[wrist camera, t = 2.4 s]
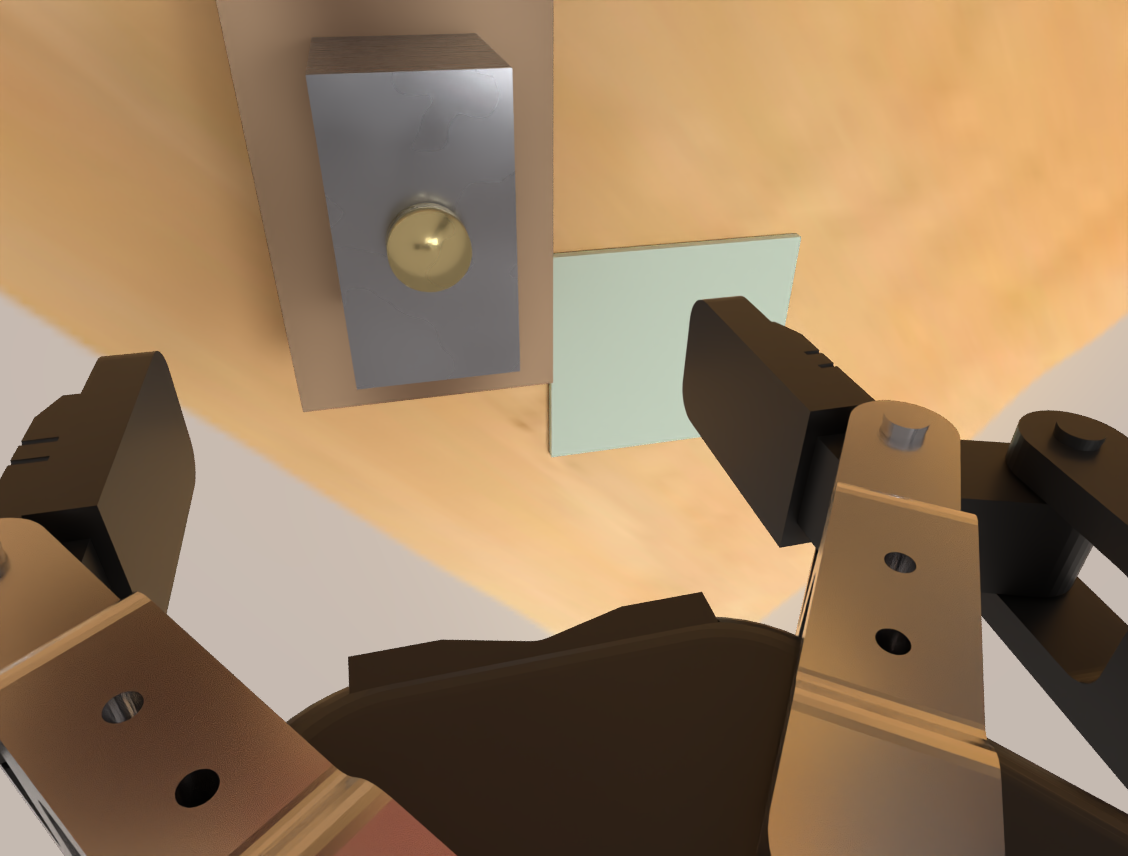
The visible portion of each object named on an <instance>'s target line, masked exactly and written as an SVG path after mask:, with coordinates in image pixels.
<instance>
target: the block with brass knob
mask: <svg viewBox="0 0 1128 856" xmlns="http://www.w3.org/2000/svg"><path fill="white" fill-rule="evenodd" d="M305 75H306V82H307V88H308V94H309V100H310V106H311V112H312V118H313V124H314V131H315V137H316V143H317V149H318V155H319V161H320V167H321V173H322V179H323V186H324V192H325V198H326V204H327V210H328V216H329V222H330V228H331V235H332V241H333V247H334V253H335V259H336V265H337V271H338V277H339V284H340V290H341V296H342V302H343V308H344V314H345V320H346V326H347V332H348V339H349V345H350V351H351V357H352V363H353V369H354V375H355V381H356V388H357V390H358V389H367V388H376V387H385V386H394V385H403V384H412V383H421V382H429V381H438V380H447V379H456V378H465V377H474V376H483V375H491V374H500V373H509V372H518V371H520V341H519V303H518V265H517V227H516V189H515V151H514V113H513V75H512V67H511V66H510V65H509V64H508V63H507V62H506V61H505V60H503V59H502V58H501V57H500V56H499V55H498V54H497V53H496V52H495V51H494V50H493V49H492V48H491V47H490V46H489V45H488V44H487V43H486V42H485V41H484V40H482V39H481V38H480V37H479V36H478V35H477V34H476V33H470V34H429V35H388V36H346V37H312V38H311V44H310V50H309V56H308V62H307V68H306V74H305Z"/></svg>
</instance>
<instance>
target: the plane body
mask: <svg viewBox="0 0 1128 856" xmlns="http://www.w3.org/2000/svg"><path fill="white" fill-rule="evenodd" d="M216 4H217V9H218V13H219V18H220V23H221V28H222V32H223V37H224V42H225V46H226V51H227V56H228V60H229V65H230V70H231V75H232V79H233V84H234V89H235V93H236V98H237V103H238V108H239V112H240V117H241V122H242V126H243V131H244V136H245V141H246V145H247V150H248V155H249V159H250V164H251V169H252V174H253V178H254V183H255V188H256V192H257V197H258V202H259V207H260V211H261V216H262V221H263V225H264V230H265V235H266V239H267V244H268V249H269V254H270V258H271V263H272V268H273V272H274V277H275V282H276V287H277V291H278V296H279V301H280V305H281V310H282V315H283V320H284V324H285V329H286V334H287V338H288V343H289V348H290V353H291V357H292V362H293V367H294V371H295V376H296V381H297V386H298V390H299V395H300V400H301V404H302V409H303V412H309V411H317V410H326V409H334V408H343V407H351V406H360V405H369V404H377V403H386V402H394V401H403V400H411V399H420V398H428V397H437V396H446V395H454V394H463V393H471V392H480V391H488V390H497V389H505V388H514V387H523V386H531V385H540V384H548V383H553V0H216ZM470 33H476V34H477V35H478V36H479V37H480V38H481V39H482V40H484V41H485V42H486V43H487V44H488V45H489V46H490V47H491V48H492V49H493V50H494V51H495V52H496V53H497V54H498V55H499V56H500V57H501V58H502V59H503V60H505V61H506V62H507V63H508V64H509V65H510V66H511V67H512V75H513V113H514V151H515V189H516V227H517V265H518V303H519V341H520V371H518V372H509V373H500V374H491V375H483V376H474V377H465V378H456V379H447V380H438V381H429V382H421V383H412V384H403V385H394V386H385V387H376V388H367V389H358V390H357V388H356V381H355V375H354V369H353V363H352V357H351V351H350V345H349V339H348V332H347V326H346V320H345V314H344V308H343V302H342V296H341V290H340V284H339V277H338V271H337V265H336V259H335V253H334V247H333V241H332V235H331V228H330V222H329V216H328V210H327V204H326V198H325V192H324V186H323V179H322V173H321V167H320V161H319V155H318V149H317V143H316V137H315V131H314V124H313V118H312V112H311V106H310V100H309V94H308V88H307V82H306V75H305V74H306V68H307V62H308V56H309V50H310V44H311V38H312V37H346V36H388V35H429V34H470Z"/></svg>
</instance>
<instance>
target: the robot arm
mask: <svg viewBox="0 0 1128 856" xmlns="http://www.w3.org/2000/svg"><path fill="white" fill-rule="evenodd" d="M682 395H683V403H684V407H685V411H686V414H687V416H688V419H689V420H690V422H691V423H692V425H693V426H694V428H695V429H696V430H697V432H698V433H699V435H700V436H701V437H702V439H703V440H704V442H705V443H706V445H707V446H708V447H709V449H710V450H711V452H712V453H713V454H714V456H715V457H716V459H717V460H718V461H719V463H720V464H721V466H722V467H723V468H724V470H725V471H726V473H727V474H728V475H729V477H730V478H731V480H732V481H733V483H734V484H735V485H736V487H737V488H738V490H739V491H740V492H741V494H742V495H743V497H744V498H745V499H746V501H747V502H748V504H749V505H750V506H751V508H752V509H753V511H754V512H755V514H756V515H757V516H758V518H759V519H760V521H761V522H762V523H763V525H764V526H765V528H766V529H767V530H768V532H769V533H770V535H771V536H772V537H773V539H774V540H775V542H776V543H777V545H778V546H779V547H780V548H781V547H786V546H792V545H798V544H804V543H809V542H812V543H813V545H814V546H815V547H816V548H815V552H814V556H813V560H812V563H811V567H810V572H809V576H808V581H807V585H806V590H805V594H804V599H803V603H802V607H801V612H800V617H799V621H798V625H797V630H796V634H795V635H794V634H792V633H789V632H787V631H784V630H781V629H778V628H775V627H772V626H768V625H765V624H761V623H757V622H752V621H748V620H742V619H734V618H726V617H715V615H714V613H713V611H712V609H711V608H710V606H709V604H708V602H707V600H706V598H705V597H704V595H703V593H702V592H699V593H693V594H688V595H682V596H677V597H671V598H666V599H661V600H655V601H650V602H644V603H639V604H633V605H628V606H622V607H620V608H617V609H615V610H612V611H610V612H608V613H605V614H603V615H601V616H598V617H596V618H594V619H591V620H589V621H586V622H584V623H582V624H579V625H577V626H575V627H572V628H570V629H568V630H565V631H563V632H561V633H558V634H556V635H553V636H551V637H549V638H546V639H543V640H539V641H484V640H482V641H481V640H438V641H432V642H427V643H421V644H416V645H410V646H405V647H399V648H394V649H389V650H383V651H378V652H372V653H367V654H361V655H356V656H351V657H348V665H349V687H346V688H344V689H342V690H340V691H337V692H335V693H333V694H331V695H329V696H327V697H325V698H323V699H321V700H320V701H318V702H316V703H314V704H312V705H310V706H309V707H307V708H306V709H304V710H303V711H301V712H300V713H298V714H297V715H295V716H294V717H292V718H291V719H290V720H289V721H287V722H285V721H284V720H283V719H282V718H281V717H279V716H278V715H277V714H276V713H275V712H274V711H273V710H272V709H270V708H269V707H268V706H267V705H266V704H265V703H264V702H263V701H262V700H261V699H259V698H258V697H257V696H256V695H255V694H254V693H253V692H252V691H250V689H248V688H247V687H246V686H245V685H244V684H243V683H242V682H241V681H240V680H239V679H237V678H236V677H235V676H234V675H233V674H232V673H231V672H230V671H229V670H228V669H226V668H225V667H224V666H223V665H222V664H221V663H220V662H219V661H218V660H216V659H215V658H214V657H213V656H212V655H211V654H210V653H209V652H208V651H207V650H205V649H204V648H203V647H202V646H201V645H200V644H199V643H198V642H197V641H196V640H194V639H193V638H192V637H191V636H190V635H189V634H188V633H187V632H186V631H185V630H183V629H182V628H181V627H180V626H179V625H178V624H177V623H176V622H175V621H173V620H172V619H171V618H170V617H169V616H168V615H167V609H168V605H169V600H170V595H171V591H172V587H173V582H174V577H175V573H176V568H177V564H178V559H179V555H180V550H181V546H182V541H183V536H184V532H185V527H186V523H187V518H188V514H189V509H190V505H191V500H192V495H193V490H194V486H195V460H194V453H193V448H192V444H191V440H190V437H189V434H188V430H187V427H186V424H185V421H184V417H183V414H182V411H181V407H180V404H179V401H178V397H177V394H176V391H175V388H174V384H173V381H172V378H171V374H170V371H169V368H168V365H167V363H166V360H165V358H164V357H163V355H162V354H161V353H160V352H159V351H155V352H144V353H134V354H124V355H113V356H103V357H100V358H98V360H97V362H96V364H95V366H94V368H93V370H92V372H91V374H90V376H89V378H88V380H87V382H86V384H85V386H84V388H83V390H82V392H81V394H74V395H73V394H72V395H63V396H62V397H60V398H59V399H58V400H56V401H55V402H54V403H53V404H51V405H50V406H49V407H47V408H46V409H45V410H44V411H42V412H41V413H40V414H39V415H37V416H36V417H35V418H34V419H33V421H32V423H31V425H30V427H29V429H28V430H27V432H26V434H25V435H24V438H23V439H22V446H18V448H17V450H16V452H15V453H14V455H13V457H12V459H11V465H9V466H7V468H6V469H5V471H4V473H3V475H2V477H1V479H0V767H1V769H2V770H3V771H4V773H5V774H6V775H7V777H8V778H9V780H10V781H11V783H12V784H13V785H14V787H15V788H16V789H17V791H18V792H19V794H20V795H21V796H22V798H23V799H24V801H25V802H26V803H27V805H28V806H29V807H30V809H31V810H32V811H33V813H34V814H35V816H36V817H37V818H38V820H39V821H40V823H41V824H42V825H43V827H44V828H45V830H46V831H47V832H48V834H49V835H50V836H51V838H52V839H53V841H54V842H55V843H56V845H57V846H58V848H59V849H60V850H61V852H62V853H63V854H64V856H1128V814H1126V813H1125V812H1123V811H1121V810H1119V809H1117V808H1116V807H1114V806H1112V805H1110V804H1108V803H1106V802H1104V801H1103V800H1101V799H1099V798H1097V797H1095V796H1093V795H1091V794H1090V793H1088V792H1086V791H1084V790H1082V789H1080V788H1079V787H1077V786H1075V785H1073V784H1071V783H1069V782H1067V781H1066V780H1064V779H1062V778H1060V777H1058V776H1056V775H1055V774H1053V773H1051V772H1049V771H1047V770H1045V769H1043V768H1042V767H1040V766H1038V765H1036V764H1034V763H1033V762H1031V761H1029V760H1027V759H1025V758H1023V757H1021V756H1020V755H1018V754H1016V753H1014V752H1012V751H1010V750H1008V749H1007V748H1005V747H1003V746H1001V745H999V744H997V743H996V742H994V741H992V740H990V739H988V738H987V737H986V732H985V713H984V686H983V685H984V683H983V654H982V627H981V625H982V624H981V616H982V617H983V618H984V619H985V621H987V623H988V624H989V625H990V626H991V628H992V629H993V630H994V631H995V632H996V634H997V635H998V636H999V637H1000V638H1001V640H1002V641H1003V642H1004V643H1005V644H1006V645H1007V647H1008V648H1009V649H1010V650H1011V651H1012V653H1013V654H1014V655H1015V656H1016V657H1017V659H1018V660H1019V661H1020V662H1021V663H1022V664H1023V666H1024V667H1025V668H1026V669H1027V670H1028V671H1029V673H1030V674H1031V675H1032V676H1033V677H1034V679H1035V680H1036V681H1037V682H1038V683H1039V684H1040V686H1041V687H1042V688H1043V689H1044V691H1045V692H1046V693H1047V694H1048V695H1049V697H1050V698H1051V699H1052V700H1053V701H1054V702H1055V704H1056V705H1057V706H1058V707H1059V708H1060V710H1061V711H1062V712H1063V713H1064V714H1065V716H1066V717H1067V718H1068V719H1069V720H1070V721H1071V723H1072V724H1073V725H1074V726H1075V727H1076V729H1077V730H1078V731H1079V732H1080V733H1081V735H1082V736H1083V737H1084V738H1085V739H1086V741H1087V742H1088V743H1089V744H1090V745H1091V746H1092V748H1093V749H1094V750H1095V751H1096V752H1097V754H1098V755H1099V756H1100V757H1101V758H1102V759H1103V761H1104V762H1105V763H1106V764H1107V765H1108V767H1109V768H1110V769H1111V770H1112V771H1113V773H1114V774H1115V775H1116V776H1117V777H1118V779H1119V780H1120V781H1121V782H1122V783H1123V784H1124V786H1125V787H1126V788H1127V789H1128V625H1127V624H1126V623H1124V621H1123V620H1122V619H1121V618H1119V616H1118V615H1116V613H1114V612H1113V611H1112V610H1111V609H1110V608H1109V607H1108V606H1107V605H1106V604H1105V603H1104V602H1103V601H1102V600H1101V599H1100V598H1099V597H1098V596H1097V595H1096V594H1095V593H1094V592H1093V591H1092V590H1091V589H1090V588H1089V587H1088V586H1086V585H1085V583H1083V582H1082V581H1081V580H1080V579H1079V578H1078V577H1077V575H1078V574H1079V572H1080V570H1081V568H1082V566H1083V564H1084V562H1085V560H1086V558H1087V556H1088V554H1089V553H1090V551H1091V549H1092V547H1093V546H1095V547H1096V548H1097V549H1098V550H1099V551H1100V552H1101V553H1102V554H1103V555H1105V556H1106V557H1107V558H1108V559H1109V560H1110V561H1111V562H1112V563H1113V564H1115V565H1116V566H1117V567H1118V568H1119V569H1120V570H1121V571H1122V572H1123V573H1124V574H1125V575H1126V576H1127V577H1128V437H1126V436H1125V435H1124V434H1122V433H1120V432H1119V431H1117V430H1116V429H1114V428H1112V427H1110V426H1108V425H1107V424H1104V423H1102V422H1100V421H1097V420H1094V419H1092V418H1089V417H1086V416H1082V415H1078V414H1074V413H1069V412H1063V411H1049V410H1048V411H1036V412H1032V413H1029V414H1026V415H1025V416H1023V417H1022V418H1021V419H1020V420H1019V423H1018V425H1017V428H1016V431H1015V433H1014V435H1013V438H1012V440H1011V443H1001V442H986V441H972V440H960V435H959V433H958V431H957V429H956V428H955V427H954V426H953V424H951V423H950V422H949V421H948V420H947V419H945V418H944V417H942V416H941V415H939V414H937V413H935V412H933V411H931V410H929V409H926V408H924V407H921V406H918V405H915V404H910V403H906V402H900V401H891V400H879V401H875V400H874V399H873V398H872V397H871V396H870V395H868V394H867V393H866V392H865V391H864V390H863V389H862V388H861V387H860V386H858V385H857V384H856V383H855V382H854V381H853V380H852V379H851V378H850V377H848V376H847V375H846V374H845V373H844V372H843V371H842V370H841V369H840V368H838V367H837V366H835V367H834V366H833V362H832V361H831V360H830V359H828V358H827V357H826V356H825V355H824V354H823V353H819V350H818V349H817V348H816V347H815V346H814V345H813V344H812V343H811V342H810V341H808V340H807V339H806V338H805V337H804V336H803V335H802V334H800V333H798V332H796V331H794V330H792V329H789V328H787V327H785V326H783V325H781V324H779V323H777V322H775V321H774V322H771V321H770V320H769V319H768V318H767V317H766V316H765V315H764V314H763V313H762V312H760V311H759V310H758V309H757V308H756V307H755V306H754V305H753V304H752V303H751V302H750V301H749V300H748V299H746V298H745V297H744V296H732V297H722V298H712V299H702V300H697V301H696V302H695V303H694V305H693V307H692V310H691V315H690V322H689V331H688V340H687V348H686V357H685V366H684V374H683V384H682Z"/></svg>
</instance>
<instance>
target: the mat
mask: <svg viewBox="0 0 1128 856" xmlns="http://www.w3.org/2000/svg"><path fill="white" fill-rule="evenodd" d="M800 241H801V236H799V235H798V234H797V233H795V234H783V235H771V236H758V237H746V238H734V239H722V240H710V241H698V242H686V243H674V244H662V245H650V246H638V247H625V248H613V249H601V250H589V251H577V252H565V253H553V383H549V452H550V455H551V457H557V456H565V455H572V454H579V453H587V452H594V451H601V450H609V449H616V448H623V447H631V446H638V445H645V444H653V443H660V442H667V441H675V440H682V439H689V438H697V437H701V436H700V435H699V433H698V432H697V430H696V429H695V428H694V426H693V425H692V423H691V422H690V420H689V419H688V416H687V414H686V411H685V407H684V403H683V395H682V384H683V374H684V366H685V357H686V348H687V340H688V331H689V322H690V315H691V310H692V307H693V305H694V303H695V302H696V301H697V300H702V299H712V298H722V297H732V296H744V297H745V298H746V299H748V300H749V301H750V302H751V303H752V304H753V305H754V306H755V307H756V308H757V309H758V310H759V311H760V312H762V313H763V314H764V315H765V316H766V317H767V318H768V319H769V320H770V321H771V322H774V321H775V322H777V323H779V324H781V325H783V326H785V322H786V317H787V311H788V306H789V300H790V295H791V289H792V284H793V279H794V273H795V268H796V262H797V257H798V252H799V246H800Z"/></svg>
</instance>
